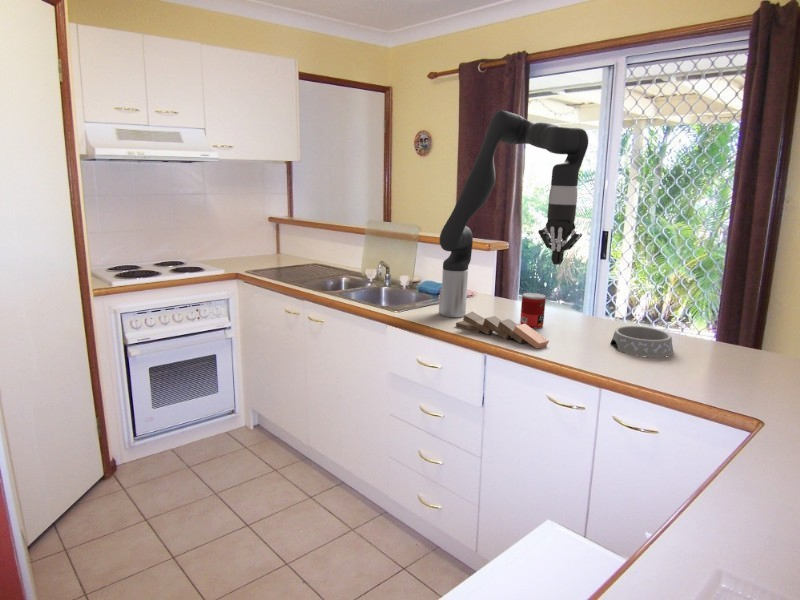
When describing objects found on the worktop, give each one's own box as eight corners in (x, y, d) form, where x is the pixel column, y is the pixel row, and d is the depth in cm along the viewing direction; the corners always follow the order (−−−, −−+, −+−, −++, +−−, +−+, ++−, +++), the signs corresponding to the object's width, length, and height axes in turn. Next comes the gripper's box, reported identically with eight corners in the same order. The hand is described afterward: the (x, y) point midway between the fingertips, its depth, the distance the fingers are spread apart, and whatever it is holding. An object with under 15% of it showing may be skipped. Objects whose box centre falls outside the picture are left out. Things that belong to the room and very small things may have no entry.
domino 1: (478, 334, 181) (455, 328, 188) (487, 332, 184) (465, 325, 191) (479, 329, 180) (456, 322, 187) (488, 326, 184) (465, 320, 191)
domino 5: (536, 348, 166) (513, 331, 172) (546, 346, 169) (522, 328, 175) (539, 343, 165) (515, 325, 171) (549, 340, 168) (525, 323, 174)
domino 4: (520, 343, 170) (497, 326, 176) (530, 340, 173) (507, 324, 179) (522, 338, 169) (499, 321, 175) (532, 335, 172) (509, 319, 179)
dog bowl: (624, 358, 160) (626, 340, 159) (603, 339, 178) (604, 323, 177) (682, 359, 160) (685, 342, 159) (655, 341, 178) (657, 325, 177)
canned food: (542, 329, 187) (545, 298, 184) (518, 327, 189) (521, 296, 187) (544, 324, 194) (546, 294, 191) (521, 321, 196) (523, 291, 194)
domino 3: (505, 339, 174) (483, 323, 180) (515, 337, 177) (492, 320, 183) (507, 334, 173) (485, 318, 179) (517, 331, 176) (494, 316, 182)
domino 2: (487, 334, 178) (462, 320, 183) (494, 330, 182) (470, 316, 187) (489, 329, 177) (464, 315, 182) (496, 325, 181) (472, 311, 186)
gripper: (591, 203, 149) (584, 266, 153) (548, 201, 158) (543, 260, 162) (577, 204, 144) (571, 268, 148) (534, 201, 153) (529, 262, 157)
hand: (556, 264), depth 155 cm, fingers closed
